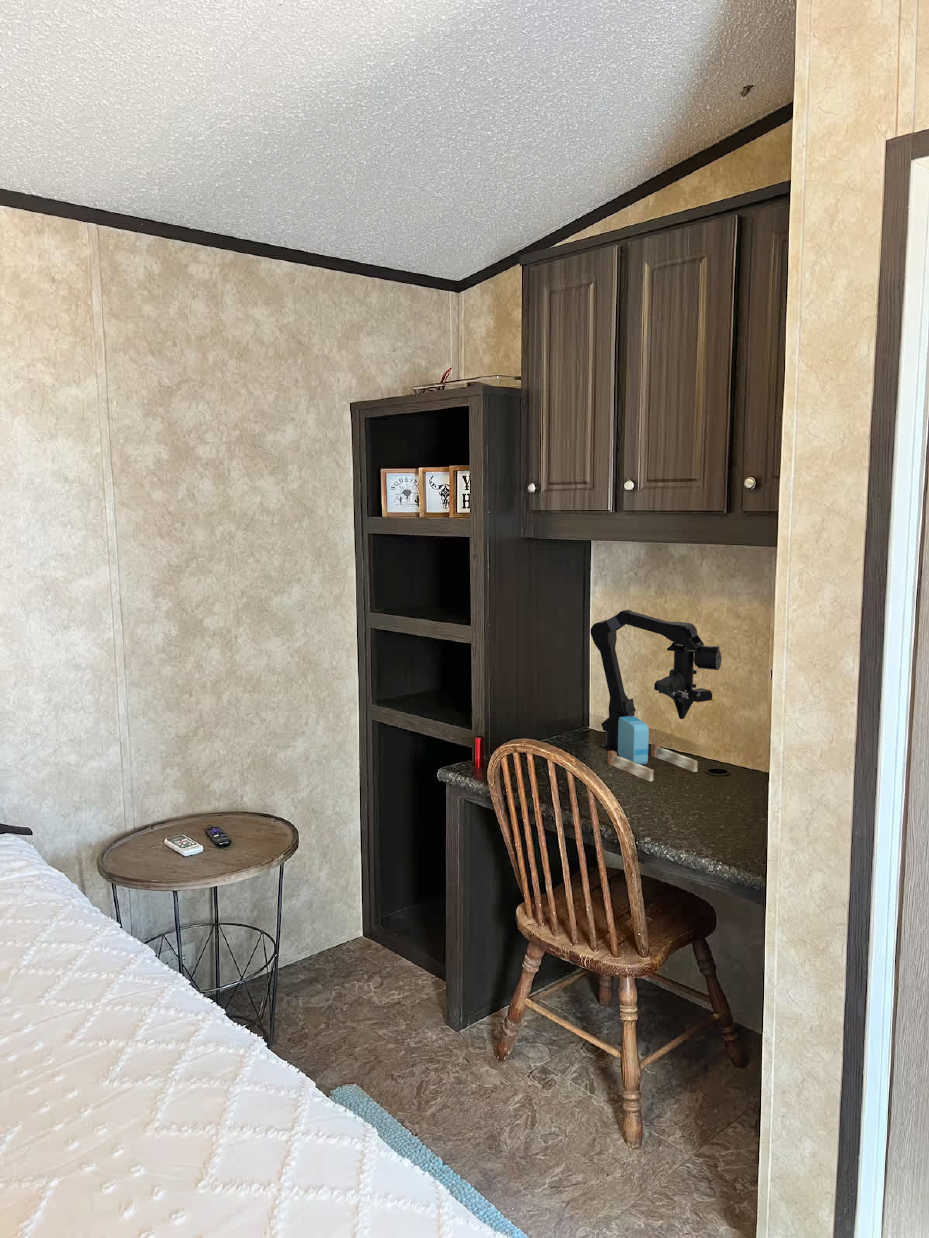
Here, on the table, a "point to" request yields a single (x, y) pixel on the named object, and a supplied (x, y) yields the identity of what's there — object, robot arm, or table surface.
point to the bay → (655, 752)
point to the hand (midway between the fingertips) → (681, 718)
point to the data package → (633, 739)
